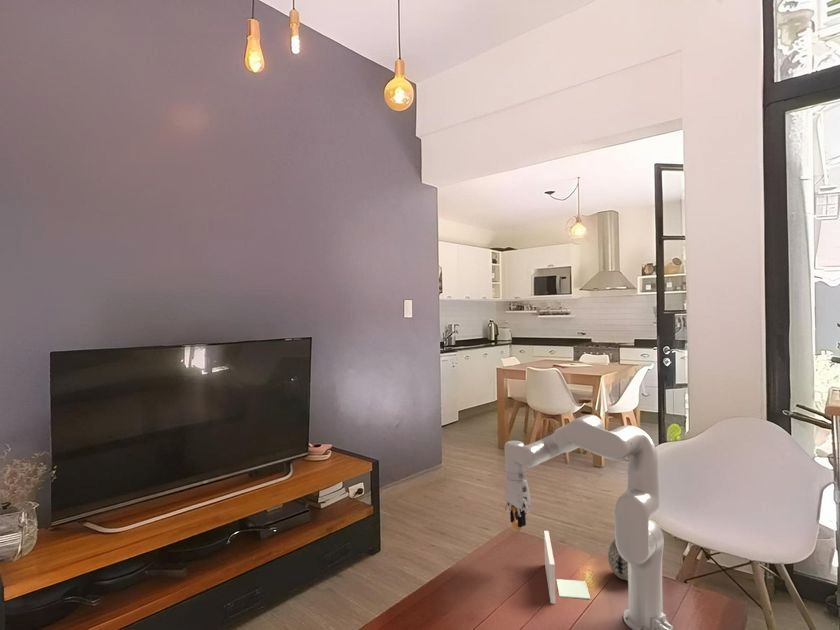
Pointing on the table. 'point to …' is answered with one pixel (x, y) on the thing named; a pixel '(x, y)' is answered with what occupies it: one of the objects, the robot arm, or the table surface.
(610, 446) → the robot arm
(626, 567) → the decorative egg
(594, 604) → the table surface
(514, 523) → the figurine
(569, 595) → the mat
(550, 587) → the screen
